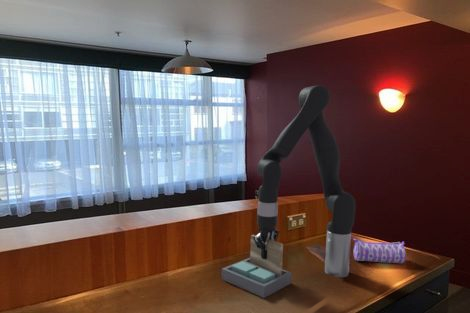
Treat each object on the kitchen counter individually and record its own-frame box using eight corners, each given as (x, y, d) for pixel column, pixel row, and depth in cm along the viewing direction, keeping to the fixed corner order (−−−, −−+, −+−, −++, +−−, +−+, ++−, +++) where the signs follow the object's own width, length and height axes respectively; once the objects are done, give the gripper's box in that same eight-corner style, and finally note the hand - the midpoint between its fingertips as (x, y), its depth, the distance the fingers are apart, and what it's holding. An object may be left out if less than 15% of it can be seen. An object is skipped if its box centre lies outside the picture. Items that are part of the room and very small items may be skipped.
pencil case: (399, 258, 168) (401, 237, 167) (408, 266, 159) (410, 245, 158) (350, 256, 169) (351, 236, 168) (356, 264, 159) (357, 243, 158)
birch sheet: (252, 269, 147) (253, 234, 146) (281, 280, 138) (283, 243, 136) (249, 270, 146) (250, 235, 145) (278, 281, 137) (280, 244, 135)
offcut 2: (259, 281, 138) (259, 267, 138) (274, 287, 134) (275, 273, 133) (248, 286, 134) (249, 272, 133) (264, 292, 129) (264, 278, 129)
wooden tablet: (302, 244, 180) (321, 240, 183) (302, 248, 181) (321, 245, 183) (330, 266, 155) (351, 261, 157) (330, 271, 155) (351, 266, 158)
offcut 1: (242, 273, 144) (242, 261, 144) (256, 279, 139) (256, 266, 139) (231, 278, 140) (231, 265, 139) (245, 284, 135) (245, 271, 134)
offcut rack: (249, 269, 151) (250, 257, 150) (291, 286, 137) (291, 272, 137) (221, 282, 139) (221, 268, 139) (263, 301, 126) (264, 286, 125)
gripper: (263, 218, 132) (262, 266, 134) (286, 211, 142) (284, 256, 144) (247, 214, 137) (246, 260, 139) (270, 208, 147) (269, 251, 149)
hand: (265, 258), depth 141 cm, fingers closed on birch sheet, 1 cm apart
